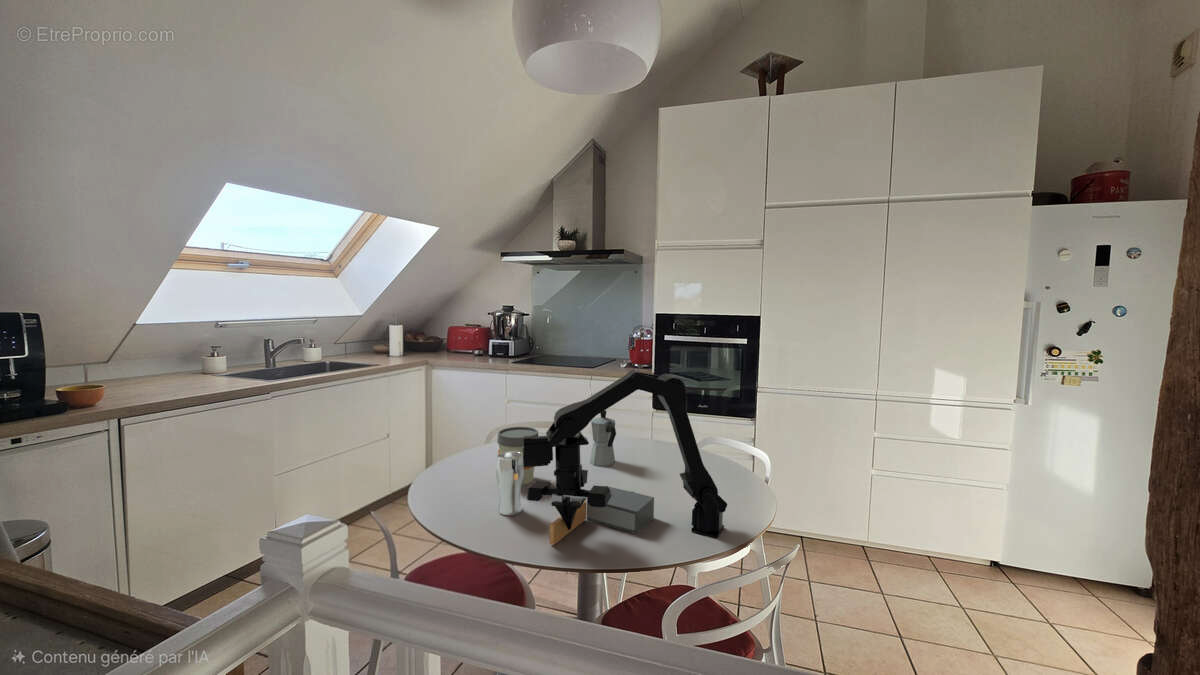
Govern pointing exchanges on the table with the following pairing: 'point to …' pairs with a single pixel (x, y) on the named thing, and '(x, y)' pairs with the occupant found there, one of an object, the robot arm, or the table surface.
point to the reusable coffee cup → (516, 445)
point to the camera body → (624, 511)
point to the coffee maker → (603, 441)
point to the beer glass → (510, 481)
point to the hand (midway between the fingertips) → (569, 529)
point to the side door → (559, 527)
